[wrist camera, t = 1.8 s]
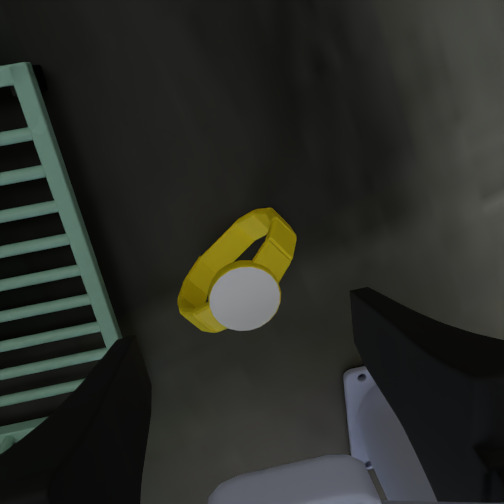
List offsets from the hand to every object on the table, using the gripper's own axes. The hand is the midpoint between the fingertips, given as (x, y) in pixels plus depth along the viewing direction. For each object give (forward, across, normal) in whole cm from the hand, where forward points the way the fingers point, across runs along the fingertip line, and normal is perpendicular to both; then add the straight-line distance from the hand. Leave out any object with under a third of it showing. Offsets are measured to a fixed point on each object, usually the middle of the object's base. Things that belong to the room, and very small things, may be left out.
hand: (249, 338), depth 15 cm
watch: (+8, 0, 0) cm, 9 cm away
